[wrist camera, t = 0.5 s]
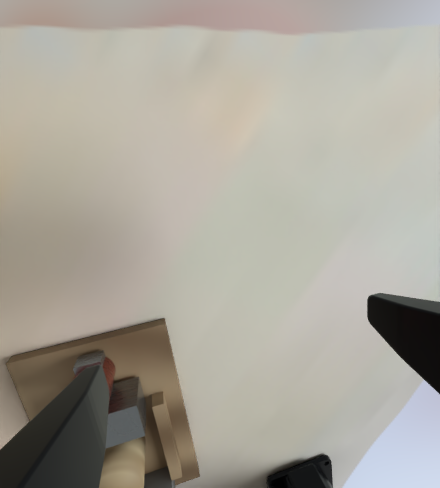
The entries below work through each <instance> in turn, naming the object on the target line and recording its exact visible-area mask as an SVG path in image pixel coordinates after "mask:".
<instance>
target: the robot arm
mask: <svg viewBox="0 0 440 488" xmlns="http://www.w3.org/2000/svg"><path fill="white" fill-rule="evenodd" d="M367 317H368V320H369V322H370V324H371V325H372V326H373V327H374V328H375V330H376V331H377V332H378V333H379V334H380V335H381V336H382V337H383V338H384V339H385V341H386V342H387V343H388V344H389V345H390V346H391V347H392V348H393V349H394V351H395V352H396V353H397V354H398V355H399V356H400V357H401V358H402V359H403V360H404V361H405V362H406V363H407V364H408V365H409V366H410V367H411V368H412V369H413V370H415V371H416V372H417V373H418V374H419V375H420V376H421V377H422V378H423V379H424V380H425V381H426V382H427V383H428V384H430V385H431V386H432V387H433V388H434V389H435V390H436V391H437V392H438V393H439V394H440V302H436V301H429V300H423V299H416V298H410V297H403V296H397V295H390V294H384V293H377V294H374V295H370V296H369V297H368V300H367ZM108 409H109V387H108V384H107V380H106V377H105V373H104V370H103V367H102V366H101V365H95V366H91V367H87V368H85V369H84V370H83V371H82V372H81V373H80V374H79V375H78V376H77V377H76V378H75V379H74V380H73V381H72V382H71V383H70V384H69V385H68V386H66V387H65V388H64V389H63V390H62V391H61V392H60V393H59V394H58V395H57V396H56V397H55V398H54V399H53V400H52V401H51V402H50V403H49V404H48V405H47V406H46V407H45V408H43V409H42V410H41V411H40V412H39V413H38V414H37V415H36V416H35V417H34V418H33V419H32V420H31V421H30V422H29V423H28V424H27V425H26V426H25V427H24V428H23V429H21V430H20V431H19V432H18V433H17V434H16V435H15V436H14V437H13V438H12V439H11V440H10V441H9V442H8V443H7V444H6V445H5V446H4V447H3V448H2V449H1V450H0V488H99V485H100V479H101V473H102V468H103V462H104V456H105V449H106V437H107V423H108ZM267 487H268V488H333V484H332V465H331V460H330V458H329V457H328V456H327V455H324V456H322V457H319V458H316V459H314V460H311V461H308V462H306V463H303V464H300V465H298V466H295V467H292V468H290V469H287V470H285V471H282V472H279V473H277V474H274V475H271V476H269V477H268V478H267Z"/></svg>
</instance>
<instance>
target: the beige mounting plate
mask: <svg viewBox="0 0 440 488" xmlns="http://www.w3.org/2000/svg"><path fill="white" fill-rule="evenodd" d="M102 350H104V353H105V356H106V357H107V358H109V359H111V360H112V361H113V363H114V365H115V368H116V371H115V376H114V381H113V383H118V382H121V381H125V380H128V379H132V378H135V377H139V379H140V382H141V386H142V390H143V393H144V397H145V401H146V429H145V436H144V437H145V442H146V443H145V472H144V488H175V485H178V484H180V483H183V482H186V481H189V480H191V479H194V478H197V477H200V474H199V468H198V463H197V459H196V454H195V450H194V445H193V441H192V437H191V432H190V428H189V423H188V419H187V415H186V410H185V406H184V401H183V397H182V393H181V388H180V384H179V379H178V375H177V371H176V366H175V362H174V357H173V353H172V349H171V344H170V340H169V335H168V331H167V327H166V322H165V318H164V319H160V320H156V321H152V322H148V323H144V324H140V325H136V326H132V327H128V328H124V329H120V330H116V331H112V332H108V333H104V334H100V335H96V336H92V337H88V338H83V339H79V340H75V341H71V342H67V343H63V344H59V345H55V346H51V347H47V348H43V349H39V350H35V351H31V352H27V353H23V354H19V355H15V356H12V357H11V358H10V360H9V361H8V362H7V363H6V365H7V368H8V370H9V373H10V375H11V377H12V380H13V382H14V384H15V387H16V389H17V392H18V394H19V396H20V399H21V401H22V403H23V406H24V408H25V411H26V413H27V415H28V418H29V420H30V421H31V420H32V419H33V418H34V417H35V416H36V415H37V414H38V413H39V412H40V411H41V410H42V409H43V408H45V407H46V406H47V405H48V404H49V403H50V402H51V401H52V400H53V399H54V398H55V397H56V396H57V395H58V394H59V393H60V392H61V391H62V390H63V389H64V388H65V387H66V386H68V385H69V384H70V383H71V382H72V381H73V378H74V376H75V374H74V371H73V367H74V365H75V363H76V360H77V358H78V357H79V356H83V355H87V354H91V353H94V352H98V351H102Z"/></svg>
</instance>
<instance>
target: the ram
mask: <svg viewBox="0 0 440 488" xmlns="http://www.w3.org/2000/svg"><path fill="white" fill-rule="evenodd" d="M95 365H101V366H102V367H103V370H104V373H105V377H106V380H107V384H108V387H109V409H108V423H107V437H106V448H109V447H112V446H115V445H118V444H122V443H125V442H128V441H131V440H134V439H137V438H140V437H143V436H145V429H146V401H145V397H144V393H143V390H142V386H141V382H140V379H139V377H135V378H132V379H128V380H125V381H121V382H118V383H113V381H114V376H115V371H116V368H115V365H114V363H113V361H112V360H111V359H109V358H107V357H106V356H105V353H104V350H102V351H98V352H94V353H91V354H87V355H83V356H79V357H78V358H77V360H76V363H75V365H74V367H73V371H74V374H75V376H74V378H73V380H74V379H75V378H76V377H77V376H78V375H79V374H80V373H81V372H82V371H83V370H84V369H85V368H87V367H91V366H95Z"/></svg>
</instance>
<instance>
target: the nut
mask: <svg viewBox="0 0 440 488" xmlns="http://www.w3.org/2000/svg"><path fill="white" fill-rule="evenodd" d="M145 443H146V442H145V437H144V436H143V437H140V438H137V439H134V440H131V441H128V442H125V443H122V444H118V445H115V446H112V447H109V448H106V449H105V456H104V462H103V468H102V473H101V479H100V485H99V488H144V472H145Z"/></svg>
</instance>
